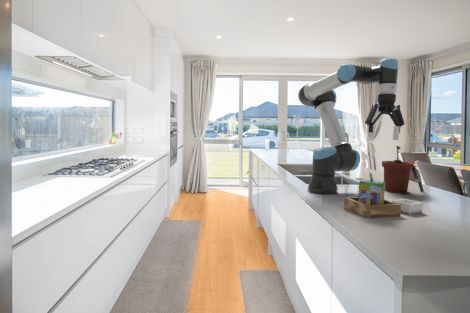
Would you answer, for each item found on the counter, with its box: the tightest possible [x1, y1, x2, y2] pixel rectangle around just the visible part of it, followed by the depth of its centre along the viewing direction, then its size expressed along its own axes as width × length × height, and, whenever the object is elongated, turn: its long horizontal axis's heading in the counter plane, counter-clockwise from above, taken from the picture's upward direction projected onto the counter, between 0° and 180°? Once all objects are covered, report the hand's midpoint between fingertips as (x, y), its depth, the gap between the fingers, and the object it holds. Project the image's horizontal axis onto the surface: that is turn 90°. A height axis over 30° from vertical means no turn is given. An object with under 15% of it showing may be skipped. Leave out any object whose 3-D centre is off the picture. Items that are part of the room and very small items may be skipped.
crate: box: [343, 196, 401, 219], centre depth 129 cm, size 15×15×4 cm
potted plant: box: [381, 145, 424, 195], centre depth 174 cm, size 18×22×25 cm
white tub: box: [391, 198, 423, 215], centre depth 132 cm, size 8×8×4 cm
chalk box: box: [358, 172, 386, 205], centre depth 129 cm, size 9×9×15 cm
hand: (383, 140), depth 149 cm, fingers open, 13 cm apart
